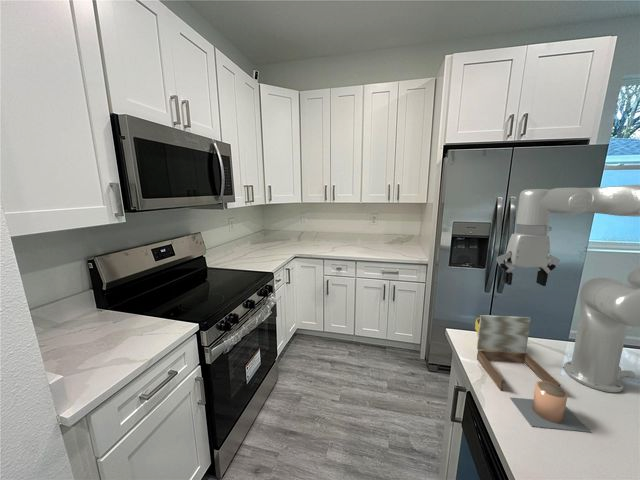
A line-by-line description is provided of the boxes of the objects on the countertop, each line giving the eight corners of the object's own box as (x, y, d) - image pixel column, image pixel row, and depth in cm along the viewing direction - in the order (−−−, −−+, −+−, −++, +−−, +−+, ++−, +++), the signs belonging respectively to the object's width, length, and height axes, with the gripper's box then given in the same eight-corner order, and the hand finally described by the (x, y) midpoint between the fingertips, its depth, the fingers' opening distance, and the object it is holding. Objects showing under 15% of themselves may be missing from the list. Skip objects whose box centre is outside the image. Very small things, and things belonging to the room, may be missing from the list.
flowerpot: (551, 404, 69) (555, 381, 67) (569, 424, 63) (574, 399, 61) (527, 402, 69) (530, 379, 68) (542, 421, 63) (546, 397, 62)
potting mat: (561, 402, 69) (561, 401, 69) (591, 432, 61) (591, 431, 61) (509, 397, 71) (509, 397, 71) (531, 426, 62) (531, 425, 62)
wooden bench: (523, 360, 87) (529, 317, 84) (558, 395, 72) (567, 344, 69) (475, 357, 89) (480, 315, 86) (500, 390, 74) (506, 340, 71)
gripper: (553, 228, 80) (545, 280, 83) (493, 228, 82) (488, 279, 85) (573, 232, 72) (564, 289, 75) (507, 232, 75) (500, 287, 78)
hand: (523, 284), depth 80 cm, fingers open, 9 cm apart
